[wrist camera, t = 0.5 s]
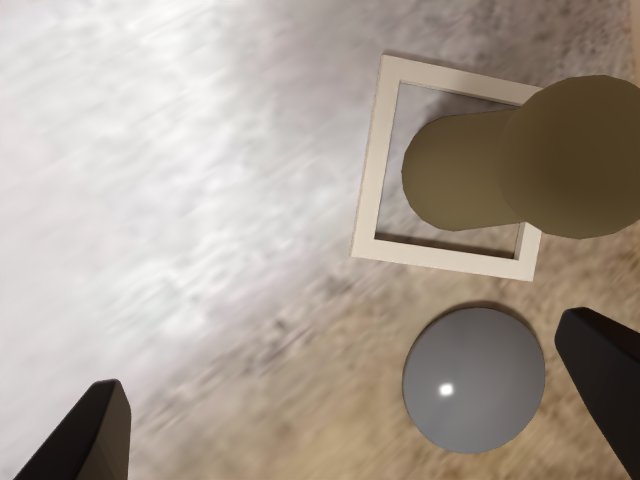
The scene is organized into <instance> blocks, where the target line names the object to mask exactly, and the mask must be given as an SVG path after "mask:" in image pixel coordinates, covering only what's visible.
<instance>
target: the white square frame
mask: <svg viewBox="0 0 640 480" xmlns="http://www.w3.org/2000/svg"><path fill="white" fill-rule="evenodd" d="M399 82H401V83H406V84H411V85H416V86H421V87H426V88H431V89H436V90H441V91H446V92H451V93H456V94H461V95H466V96H470V97H475V98H480V99H485V100H490V101H495V102H500V103H505V104H510V105H515V106H520V107H521V106H522V105H523V104H524V103H525V102H526V101H527V100H528V99H529V98H530V97H531V96H533V95H534V94H535V93H536V92H538V91H540V90H542V89H545V88H541V87H536V86H531V85H526V84H522V83H517V82H512V81H507V80H503V79H498V78H493V77H489V76H484V75H479V74H474V73H470V72H465V71H460V70H455V69H451V68H446V67H441V66H436V65H432V64H427V63H422V62H417V61H413V60H408V59H403V58H399V57H394V56H389V55H383V56H382V57H381V60H380V67H379V73H378V79H377V85H376V92H375V98H374V104H373V110H372V117H371V123H370V129H369V136H368V142H367V148H366V154H365V161H364V167H363V173H362V179H361V186H360V192H359V198H358V205H357V211H356V217H355V223H354V230H353V236H352V242H351V248H350V256H353V257H360V258H367V259H375V260H382V261H389V262H396V263H403V264H410V265H418V266H425V267H432V268H439V269H446V270H453V271H460V272H468V273H475V274H482V275H489V276H496V277H503V278H511V279H518V280H525V281H533V275H534V270H535V265H536V259H537V254H538V249H539V243H540V238H541V233H542V231H541V230H539V229H537V228H536V227H534V226H532V225H530V224H529V223H527V222H522V223H520V227H519V232H518V238H517V243H516V248H515V254H514V259H507V258H500V257H494V256H487V255H480V254H473V253H466V252H459V251H453V250H446V249H439V248H432V247H425V246H419V245H412V244H405V243H398V242H391V241H385V240H378V239H374V235H375V229H376V223H377V217H378V211H379V204H380V198H381V192H382V186H383V180H384V174H385V168H386V161H387V155H388V149H389V143H390V137H391V131H392V125H393V118H394V112H395V106H396V100H397V94H398V88H399Z"/></svg>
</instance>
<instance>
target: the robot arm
mask: <svg viewBox="0 0 640 480" xmlns="http://www.w3.org/2000/svg"><path fill="white" fill-rule="evenodd" d="M554 341H555V346H556V349H557V351H558V353H559V355H560V357H561V359H562V361H563V363H564V365H565V367H566V369H567V370H568V372H569V374H570V376H571V378H572V380H573V382H574V384H575V386H576V388H577V390H578V392H579V394H580V396H581V398H582V400H583V402H584V404H585V405H586V407H587V409H588V411H589V413H590V414H591V416H592V418H593V419H594V421H595V423H596V424H597V426H598V427H599V429H600V430H601V432H602V434H603V435H604V437H605V438H606V440H607V441H608V443H609V445H610V446H611V448H612V449H613V451H614V452H615V454H616V455H617V457H618V459H619V460H620V462H621V463H622V465H623V466H624V468H625V469H626V471H627V473H628V474H629V476H630V477H631V479H632V480H640V333H638V332H636V331H634V330H632V329H630V328H628V327H626V326H624V325H622V324H620V323H618V322H616V321H614V320H612V319H610V318H608V317H606V316H603V315H601V314H599V313H597V312H595V311H593V310H591V309H589V308H586V307H578V308H571V309H567V310H565V311H564V312H563V314H562V316H561V319H560V322H559V325H558V328H557V331H556V334H555V339H554ZM130 432H131V408H130V405H129V402H128V400H127V397H126V395H125V392H124V390H123V387H122V385H121V383H120V381H119V380H118V379H109V380H102V381H97V382H95V383H93V384H92V385H91V386H90V387H89V389H88V390H87V391H86V392H85V393H84V395H83V396H82V397H81V398H80V399H79V401H78V402H77V403H76V404H75V405H74V407H73V408H72V409H71V410H70V412H69V413H68V414H67V415H66V416H65V418H64V419H63V420H62V421H61V422H60V424H59V425H58V426H57V427H56V428H55V430H54V431H53V432H52V433H51V434H50V436H49V437H48V438H47V439H46V440H45V442H44V443H43V444H42V445H41V446H40V448H39V449H38V450H37V451H36V453H35V454H34V455H33V456H32V457H31V459H30V460H29V461H28V462H27V463H26V465H25V466H24V467H23V468H22V469H21V471H20V472H19V473H18V474H17V475H16V477H15V478H14V479H13V480H127V479H128V463H129V448H130Z"/></svg>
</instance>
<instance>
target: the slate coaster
mask: <svg viewBox="0 0 640 480" xmlns="http://www.w3.org/2000/svg"><path fill="white" fill-rule="evenodd" d="M544 387H545V364H544V358H543V355H542V352H541V349H540V347H539V345H538V343H537V341H536V339H535V338H534V336H533V335H532V333H531V332H530V331H529V330H528V329H527V328H526V327H525V326H524V325H523V324H522V323H521V322H519V321H518V320H516V319H515V318H513V317H511V316H509V315H507V314H505V313H503V312H500V311H498V310H494V309H491V308H484V307H470V308H463V309H459V310H456V311H453V312H450V313H448V314H446V315H444V316H442V317H440V318H439V319H437V320H436V321H434V322H433V323H432V324H430V325H429V326H428V327H427V328H426V329H425V330H424V331H423V332H422V333H421V334H420V336H419V337H418V338H417V339H416V341H415V343H414V344H413V346H412V347H411V349H410V352H409V354H408V356H407V359H406V362H405V365H404V369H403V375H402V393H403V399H404V403H405V406H406V409H407V412H408V414H409V416H410V417H411V419H412V421H413V422H414V424H415V425H416V426H417V428H418V429H419V431H420V432H421V433H422V434H423V435H424V436H425V437H426V438H427V439H428V440H430V441H431V442H432V443H434V444H435V445H437V446H439V447H441V448H443V449H446V450H448V451H452V452H456V453H464V454H474V453H482V452H487V451H490V450H493V449H496V448H498V447H500V446H502V445H504V444H506V443H507V442H509V441H510V440H512V439H513V438H514V437H516V436H517V435H518V434H519V433H520V432H521V431H522V430H523V429H524V428H525V427H526V426H527V425H528V423H529V422H530V421H531V419H532V418H533V416H534V414H535V413H536V411H537V409H538V407H539V404H540V402H541V399H542V396H543V392H544Z"/></svg>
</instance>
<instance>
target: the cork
mask: <svg viewBox="0 0 640 480" xmlns="http://www.w3.org/2000/svg"><path fill="white" fill-rule="evenodd" d="M401 173H402V183H403V190H404V193H405V195H406V197H407V200H408V202H409V204H410V207H411V208H412V209H413V210H414V211H415V212H416V213H417V214H418V216H419V217H420V218H421V219H422V220H423V221H425V222H427V223H429V224H430V225H432V226H434V227H436V228H438V229H443V230H449V231H462V230H469V229H477V228H484V227H492V226H500V225H507V224H515V223H522V222H527V223H529V224H530V225H532V226H534V227H536V228H537V229H539V230H541V231H542V232H544V233H546V234H551V235H556V236H561V237H566V238H573V239H586V238H593V237H599V236H605V235H609V234H614V233H616V232H618V231H620V230H622V229H623V228H625V227H627V226H629V225H631V224H633V223H635V222H636V221H637V220H638V219H640V89H639V88H638V87H637V86H635V85H633V84H631V83H629V82H628V81H625V80H621V79H617V78H613V77H609V76H606V75H592V76H582V77H572V78H567V79H565V80H562V81H560V82H557V83H555V84H553V85H551V86H549V87H547V88H545V89H542V90H540V91H538V92H536V93H535V94H534V95H533V96H531V97H530V98H529V99H528V100H527V101H526V102H525V103H524V104H523V105H522V106H521V107H520V108H519V109H512V110H502V111H493V112H483V113H473V114H463V115H454V116H445V117H441V118H439V119H437V120H435V121H433V122H431V123H429V124H427V125H426V126H425V127H424V128H423V129H422V130H420V131H419V132H418V133H417V134H416V135H415V136H414V137H413V139H412V141H411V143H410V145H409V147H408V148H407V150H406V152H405V155H404V160H403V166H402V171H401Z"/></svg>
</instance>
